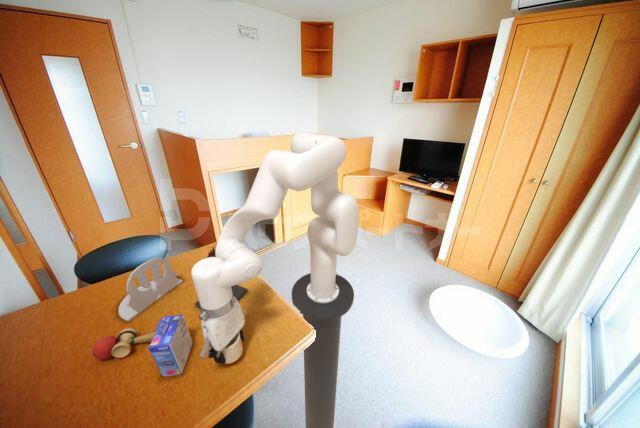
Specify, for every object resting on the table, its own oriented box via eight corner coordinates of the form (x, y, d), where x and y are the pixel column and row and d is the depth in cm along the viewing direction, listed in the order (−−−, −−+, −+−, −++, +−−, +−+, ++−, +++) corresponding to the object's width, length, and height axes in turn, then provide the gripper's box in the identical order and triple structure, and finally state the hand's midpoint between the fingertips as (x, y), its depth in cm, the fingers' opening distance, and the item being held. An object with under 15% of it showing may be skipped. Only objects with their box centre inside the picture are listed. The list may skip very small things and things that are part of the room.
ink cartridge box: (174, 344, 73) (161, 309, 67) (193, 341, 74) (182, 307, 67) (160, 377, 64) (144, 341, 58) (182, 374, 65) (168, 338, 59)
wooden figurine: (225, 269, 105) (220, 240, 99) (226, 277, 101) (221, 247, 94) (209, 273, 103) (202, 244, 97) (209, 281, 98) (202, 251, 92)
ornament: (128, 321, 80) (111, 283, 73) (103, 310, 84) (84, 272, 77) (184, 280, 98) (174, 246, 91) (161, 273, 103) (150, 239, 96)
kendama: (170, 328, 79) (100, 342, 72) (168, 316, 76) (94, 330, 68) (168, 351, 73) (91, 369, 66) (165, 339, 70) (84, 357, 62)
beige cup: (230, 338, 71) (227, 324, 69) (247, 346, 69) (244, 332, 66) (213, 357, 66) (208, 343, 63) (231, 367, 64) (227, 353, 61)
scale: (224, 282, 98) (223, 276, 97) (248, 291, 93) (247, 286, 92) (195, 306, 86) (193, 300, 85) (220, 319, 81) (219, 312, 80)
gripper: (199, 337, 51) (216, 386, 59) (252, 285, 65) (260, 330, 73) (176, 325, 54) (194, 373, 61) (231, 277, 68) (241, 321, 76)
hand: (230, 349), depth 67 cm, fingers closed on beige cup, 6 cm apart
